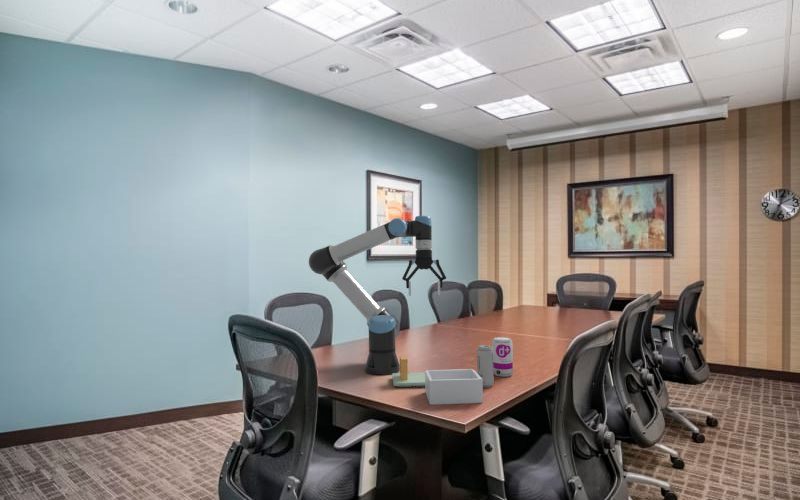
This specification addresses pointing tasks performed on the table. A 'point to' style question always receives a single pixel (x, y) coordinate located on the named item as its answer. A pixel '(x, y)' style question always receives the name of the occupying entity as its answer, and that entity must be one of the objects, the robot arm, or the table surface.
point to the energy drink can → (485, 365)
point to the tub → (453, 386)
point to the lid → (407, 376)
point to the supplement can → (502, 356)
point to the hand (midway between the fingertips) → (424, 295)
